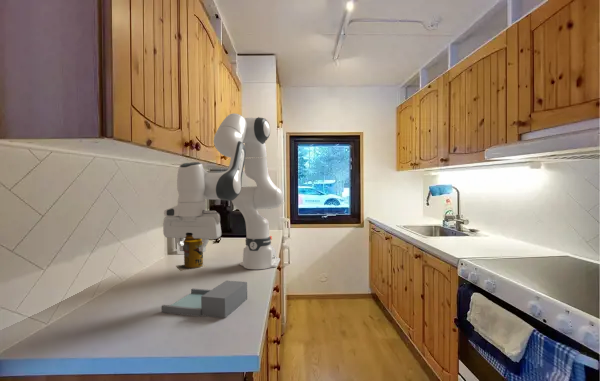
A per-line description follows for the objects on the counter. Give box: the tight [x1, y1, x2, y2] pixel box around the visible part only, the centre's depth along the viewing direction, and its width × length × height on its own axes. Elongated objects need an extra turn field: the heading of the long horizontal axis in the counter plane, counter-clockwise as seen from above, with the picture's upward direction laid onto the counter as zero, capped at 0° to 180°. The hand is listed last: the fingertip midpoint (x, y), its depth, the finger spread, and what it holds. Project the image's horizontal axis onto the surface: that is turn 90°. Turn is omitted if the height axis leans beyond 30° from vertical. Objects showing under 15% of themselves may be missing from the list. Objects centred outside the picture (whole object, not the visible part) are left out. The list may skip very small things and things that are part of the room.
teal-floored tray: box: [160, 280, 248, 319], centre depth 105 cm, size 17×22×6 cm
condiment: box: [175, 233, 207, 272], centre depth 106 cm, size 7×8×12 cm
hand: (192, 251), depth 106 cm, fingers closed on condiment, 6 cm apart
